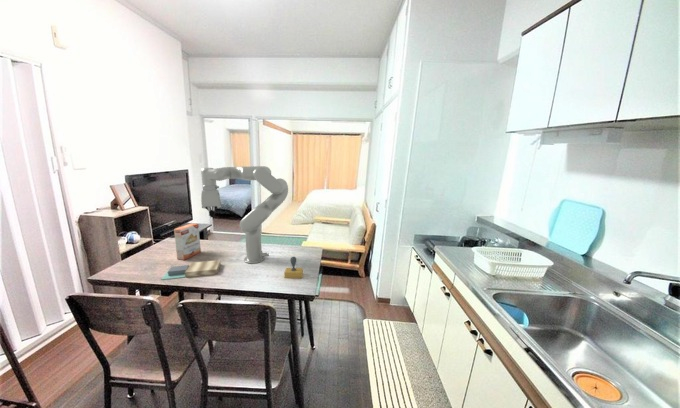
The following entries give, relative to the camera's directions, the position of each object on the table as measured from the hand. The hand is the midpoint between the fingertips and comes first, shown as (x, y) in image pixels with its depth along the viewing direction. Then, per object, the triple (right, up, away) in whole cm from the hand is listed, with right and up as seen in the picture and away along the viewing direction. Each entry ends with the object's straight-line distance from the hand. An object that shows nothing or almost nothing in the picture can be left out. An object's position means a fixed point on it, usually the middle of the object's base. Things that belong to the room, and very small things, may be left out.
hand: (212, 216), depth 149 cm
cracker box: (-21, -27, +11) cm, 36 cm away
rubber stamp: (+54, -34, -11) cm, 65 cm away
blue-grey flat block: (-13, -30, -12) cm, 35 cm away
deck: (-1, -32, -8) cm, 33 cm away
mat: (-14, -32, -12) cm, 37 cm away
